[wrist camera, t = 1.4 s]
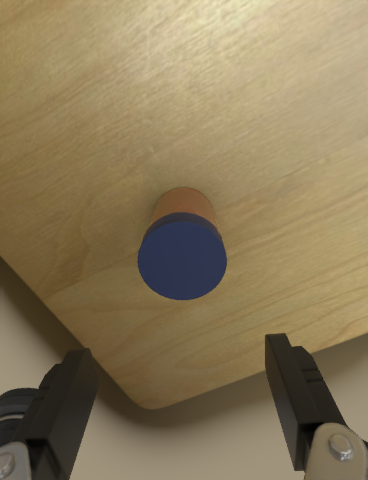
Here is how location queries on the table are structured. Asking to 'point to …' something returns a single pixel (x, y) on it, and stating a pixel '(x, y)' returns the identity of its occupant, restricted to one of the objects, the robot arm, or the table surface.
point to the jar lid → (182, 256)
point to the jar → (184, 204)
